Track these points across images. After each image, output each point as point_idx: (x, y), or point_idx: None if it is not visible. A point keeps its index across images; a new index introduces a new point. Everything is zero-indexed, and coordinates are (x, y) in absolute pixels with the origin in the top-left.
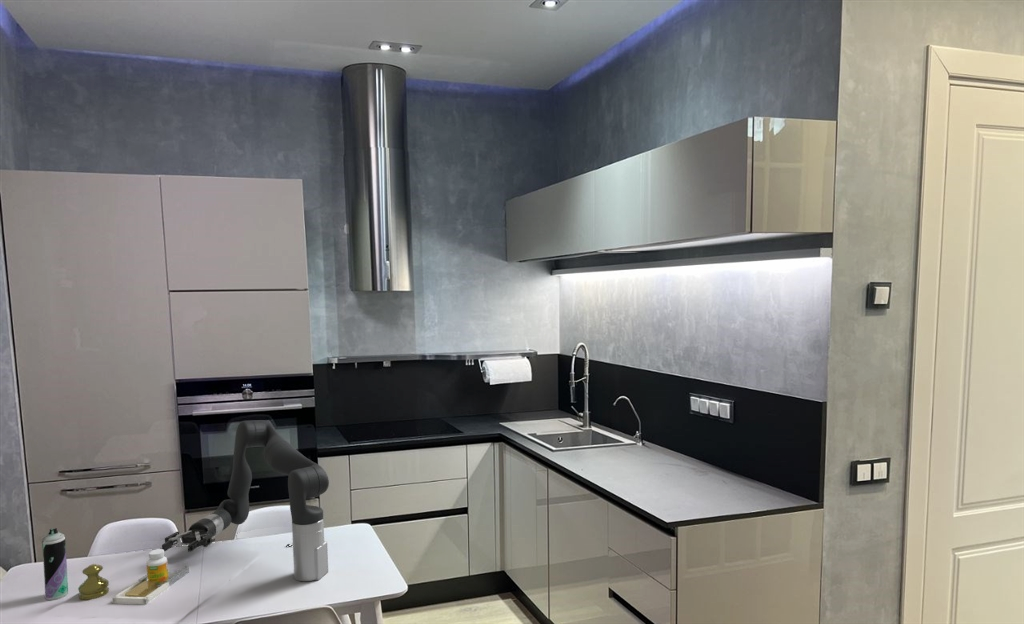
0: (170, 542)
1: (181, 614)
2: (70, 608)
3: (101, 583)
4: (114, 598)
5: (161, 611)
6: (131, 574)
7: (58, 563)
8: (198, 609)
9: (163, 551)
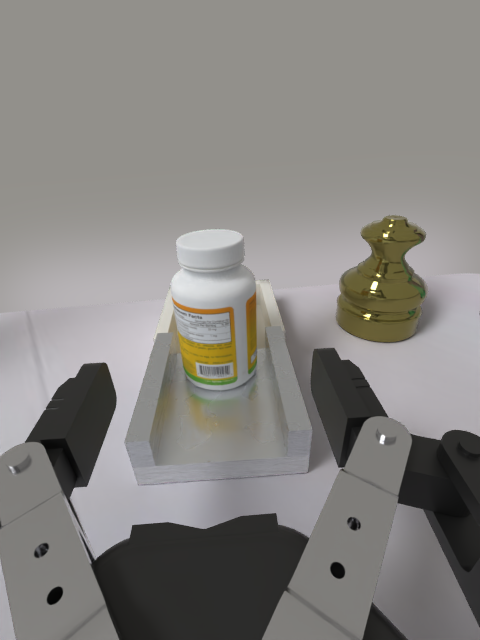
0: (338, 414)
1: (70, 309)
2: None
3: (350, 275)
4: (262, 281)
5: (128, 310)
6: None
7: None
8: (29, 324)
9: (176, 242)
